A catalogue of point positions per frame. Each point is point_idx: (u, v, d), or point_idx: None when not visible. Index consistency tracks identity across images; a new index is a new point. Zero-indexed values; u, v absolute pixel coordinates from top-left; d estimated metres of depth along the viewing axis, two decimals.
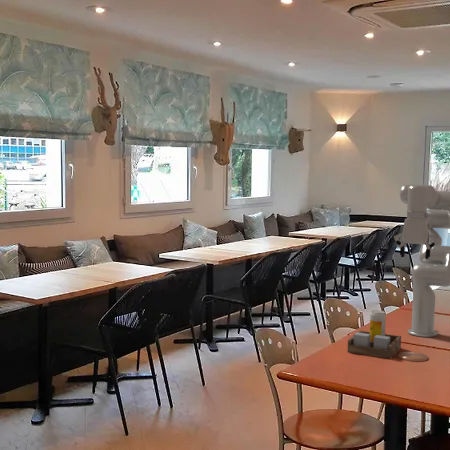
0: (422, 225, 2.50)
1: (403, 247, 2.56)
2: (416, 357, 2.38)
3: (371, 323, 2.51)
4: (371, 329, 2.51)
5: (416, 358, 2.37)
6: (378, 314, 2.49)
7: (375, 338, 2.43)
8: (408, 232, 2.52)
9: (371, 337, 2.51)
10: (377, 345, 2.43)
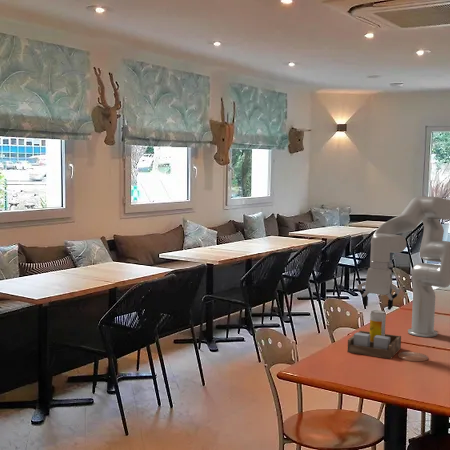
0: (385, 275, 2.47)
1: (366, 296, 2.53)
2: (416, 357, 2.38)
3: (371, 323, 2.51)
4: (371, 329, 2.51)
5: (416, 358, 2.37)
6: (378, 314, 2.49)
7: (375, 338, 2.43)
8: (371, 282, 2.50)
9: (371, 337, 2.51)
10: (377, 345, 2.43)
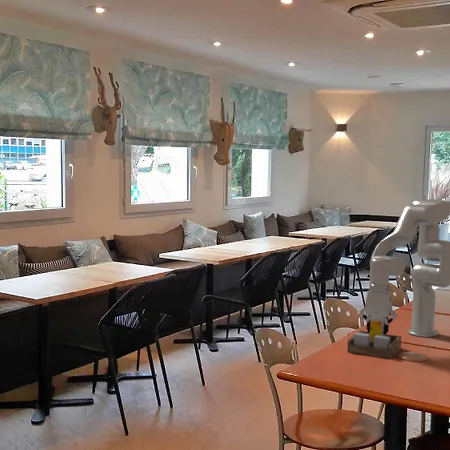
0: (384, 298, 2.48)
1: None
2: (416, 357, 2.38)
3: (371, 323, 2.51)
4: (371, 329, 2.51)
5: (416, 358, 2.37)
6: (378, 314, 2.49)
7: (375, 338, 2.43)
8: (370, 305, 2.51)
9: (371, 337, 2.51)
10: (377, 345, 2.43)
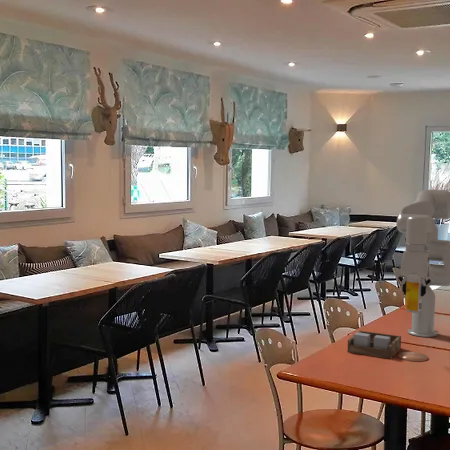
0: (422, 258, 2.35)
1: None
2: (416, 357, 2.38)
3: (407, 285, 2.38)
4: (407, 291, 2.38)
5: (416, 358, 2.37)
6: (415, 275, 2.36)
7: (375, 338, 2.43)
8: (407, 265, 2.38)
9: (407, 299, 2.38)
10: (377, 345, 2.43)
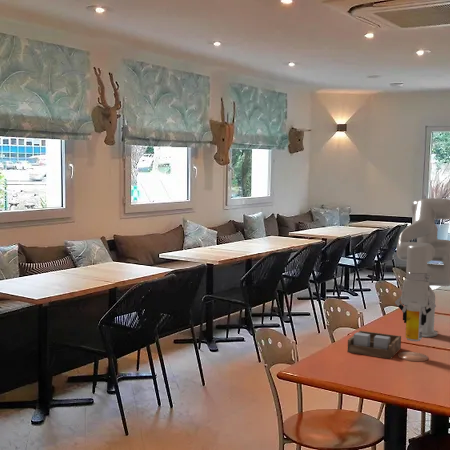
0: (423, 287, 2.35)
1: None
2: (416, 357, 2.38)
3: (408, 313, 2.38)
4: (408, 319, 2.38)
5: (416, 358, 2.37)
6: (416, 304, 2.36)
7: (375, 338, 2.43)
8: (407, 294, 2.38)
9: (408, 328, 2.38)
10: (377, 345, 2.43)
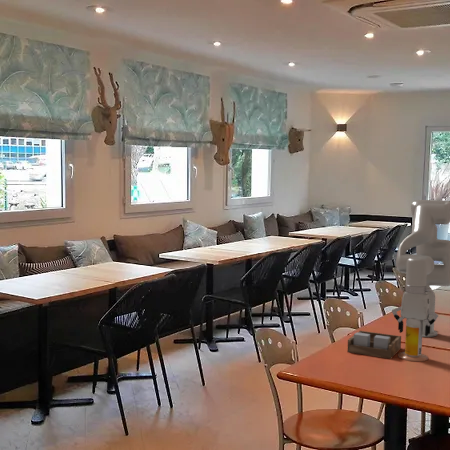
0: (422, 300, 2.36)
1: (401, 322, 2.42)
2: (416, 357, 2.38)
3: (407, 329, 2.39)
4: (407, 336, 2.39)
5: (416, 358, 2.37)
6: (415, 320, 2.37)
7: (375, 338, 2.43)
8: (407, 307, 2.38)
9: (407, 344, 2.39)
10: (377, 345, 2.43)
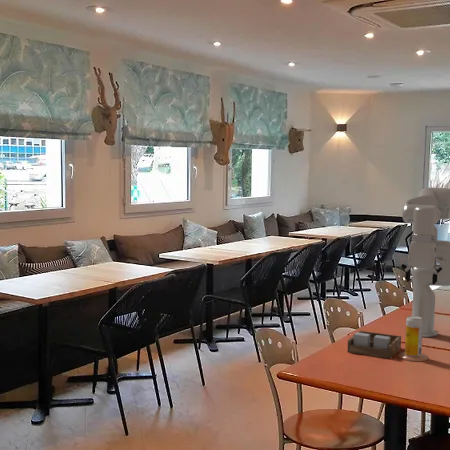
0: (429, 248, 2.36)
1: (409, 271, 2.43)
2: (416, 357, 2.38)
3: (407, 329, 2.39)
4: (407, 336, 2.39)
5: (416, 358, 2.37)
6: (415, 320, 2.37)
7: (375, 338, 2.43)
8: (414, 256, 2.39)
9: (407, 344, 2.39)
10: (377, 345, 2.43)
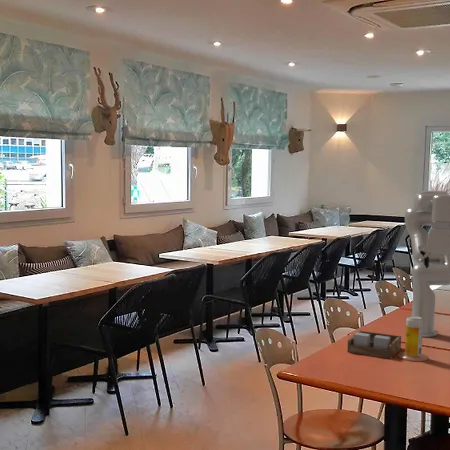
0: (448, 235, 2.44)
1: (427, 258, 2.50)
2: (416, 357, 2.38)
3: (407, 329, 2.39)
4: (407, 336, 2.39)
5: (416, 358, 2.37)
6: (415, 320, 2.37)
7: (375, 338, 2.43)
8: (433, 242, 2.47)
9: (407, 344, 2.39)
10: (377, 345, 2.43)
